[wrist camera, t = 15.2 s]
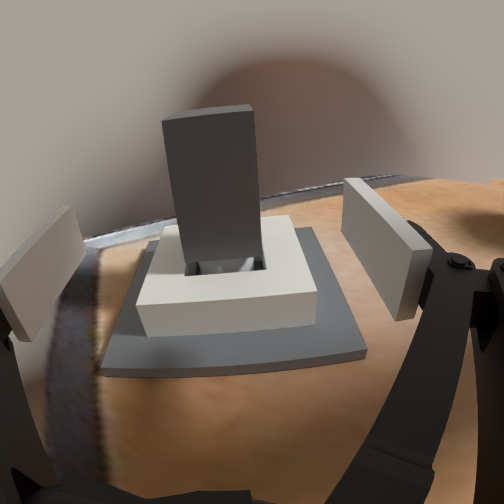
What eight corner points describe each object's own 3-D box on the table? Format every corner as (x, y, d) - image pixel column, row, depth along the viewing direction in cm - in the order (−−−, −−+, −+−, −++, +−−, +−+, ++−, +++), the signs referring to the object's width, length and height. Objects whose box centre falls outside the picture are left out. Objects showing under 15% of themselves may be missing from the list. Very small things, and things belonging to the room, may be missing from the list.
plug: (259, 262, 29) (248, 104, 22) (265, 300, 25) (253, 110, 18) (199, 267, 29) (176, 112, 22) (194, 306, 25) (161, 120, 17)
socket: (311, 234, 35) (311, 201, 33) (364, 358, 20) (375, 315, 18) (151, 248, 35) (143, 216, 33) (105, 376, 20) (83, 336, 18)
